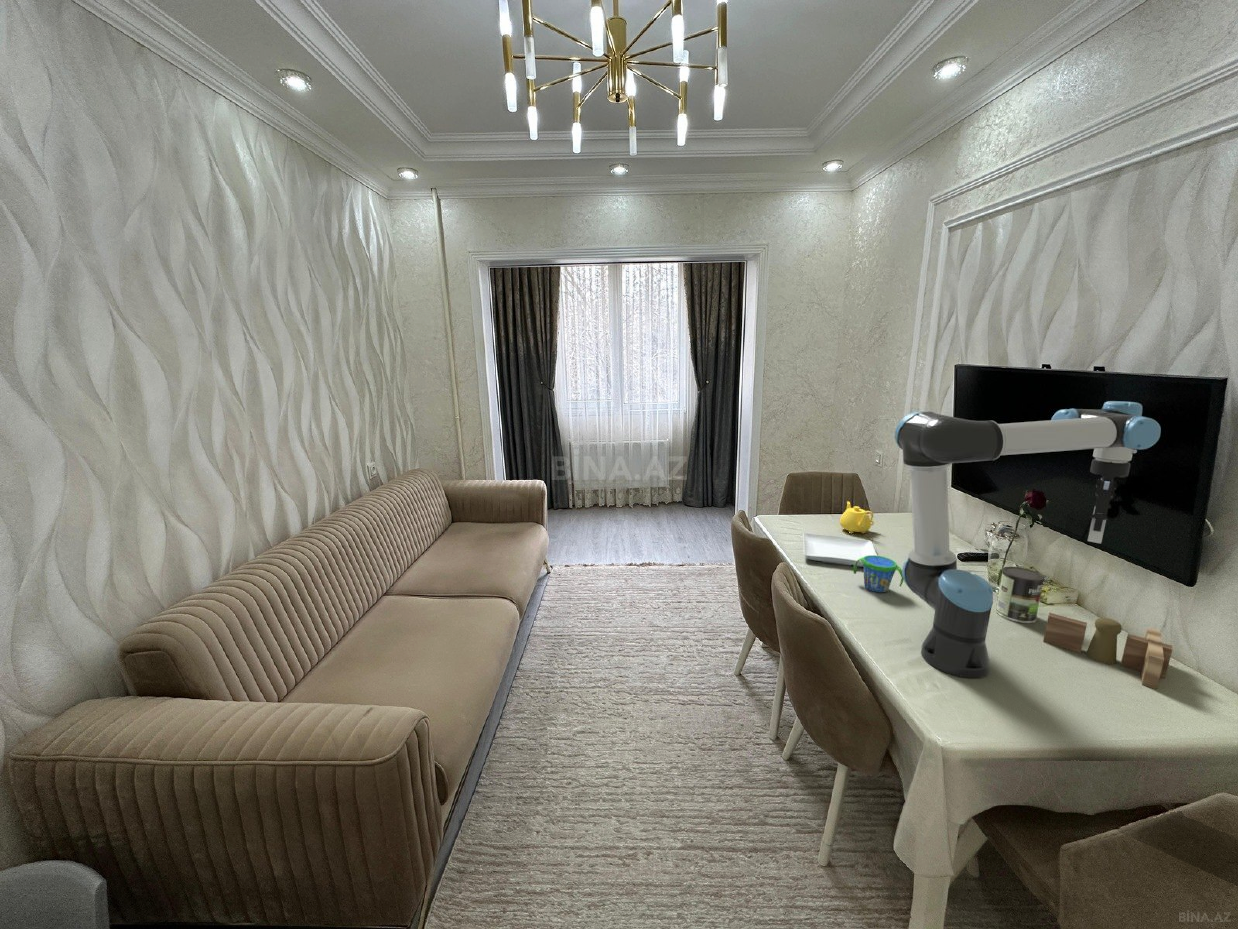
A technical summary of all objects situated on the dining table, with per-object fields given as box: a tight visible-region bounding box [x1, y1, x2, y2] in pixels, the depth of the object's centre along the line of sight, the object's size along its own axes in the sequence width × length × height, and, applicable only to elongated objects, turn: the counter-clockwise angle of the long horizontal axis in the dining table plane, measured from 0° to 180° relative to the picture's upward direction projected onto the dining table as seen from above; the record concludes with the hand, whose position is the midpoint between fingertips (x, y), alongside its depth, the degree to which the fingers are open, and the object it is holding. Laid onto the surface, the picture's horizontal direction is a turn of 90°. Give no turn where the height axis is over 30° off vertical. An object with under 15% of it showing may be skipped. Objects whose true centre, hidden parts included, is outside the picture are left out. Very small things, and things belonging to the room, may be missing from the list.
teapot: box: [839, 501, 875, 534], centre depth 235 cm, size 20×15×12 cm
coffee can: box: [995, 566, 1045, 624], centre depth 160 cm, size 10×10×14 cm
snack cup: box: [852, 555, 904, 594], centre depth 177 cm, size 16×10×10 cm
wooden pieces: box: [1043, 612, 1173, 690], centre depth 138 cm, size 18×24×8 cm
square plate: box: [802, 532, 878, 568], centre depth 208 cm, size 27×27×4 cm
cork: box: [1085, 617, 1123, 665], centre depth 138 cm, size 6×6×11 cm
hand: (1095, 535), depth 142 cm, fingers open, 13 cm apart
